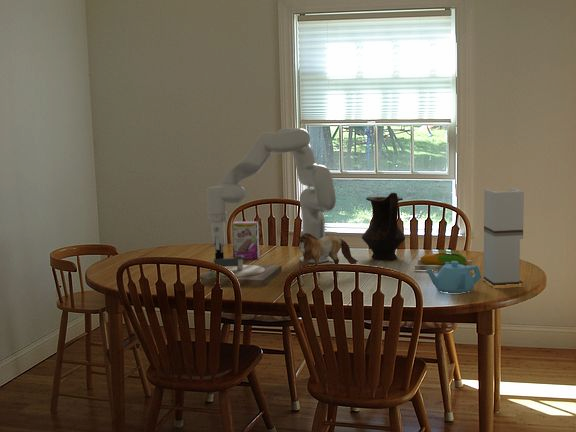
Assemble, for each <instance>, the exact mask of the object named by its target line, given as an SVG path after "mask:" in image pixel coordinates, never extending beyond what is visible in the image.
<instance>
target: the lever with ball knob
mask: <svg viewBox="0 0 576 432" xmlns="http://www.w3.org/2000/svg"><path fill="white" fill-rule="evenodd" d="M243 258H244V255H236V256H235V258H233V257H224V258H220V259H215V258H214V259H213V264H214V263H215V264H218V265H221V266H223V267H227V266H237V270H243V264H244V263H243V262H244V259H243Z"/></svg>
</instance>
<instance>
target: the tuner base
mask: <svg viewBox="0 0 576 432" xmlns="http://www.w3.org/2000/svg"><path fill="white" fill-rule="evenodd" d="M226 268H227V269H229V270H230V271H232V272H233V273H234V274H235V276H236V277H237V279H238V281H239V283H240V285H241V286H242V287H265V286H266V285H267V284H268V283H270V282H271V281H272V280H273V279H274V278H276V277H277V276H278V275H279V274H281V271H283V270H282V265H280V264H278V265H277V264H274V265H273V264H244V263H243V270H237V266H227V267H226ZM199 276H200V279H201V282H202V283H203V284H202V285H204V286H205V285H207V286H208V285H210V286H212V285H214V286H216V285H215V283H216V272H215V271H212V270H209V269H208V270H207V271H205V272H204V273H202V274H201V275H199ZM219 286H233V285H232V283H231V281H230V279H229V278H228V277H226V276H225V275H223V274H221V273H220V285H219ZM241 286H240V287H241Z"/></svg>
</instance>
